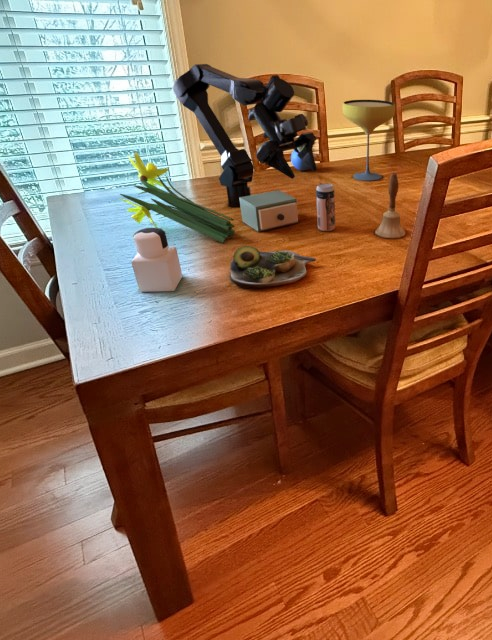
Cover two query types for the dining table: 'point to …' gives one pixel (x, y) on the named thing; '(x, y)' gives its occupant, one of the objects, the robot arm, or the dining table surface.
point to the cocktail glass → (368, 123)
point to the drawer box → (262, 206)
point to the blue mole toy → (299, 161)
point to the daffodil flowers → (176, 205)
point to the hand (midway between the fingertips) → (305, 174)
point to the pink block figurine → (155, 261)
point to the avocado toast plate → (266, 267)
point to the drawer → (278, 215)
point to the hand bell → (391, 214)
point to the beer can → (325, 207)
